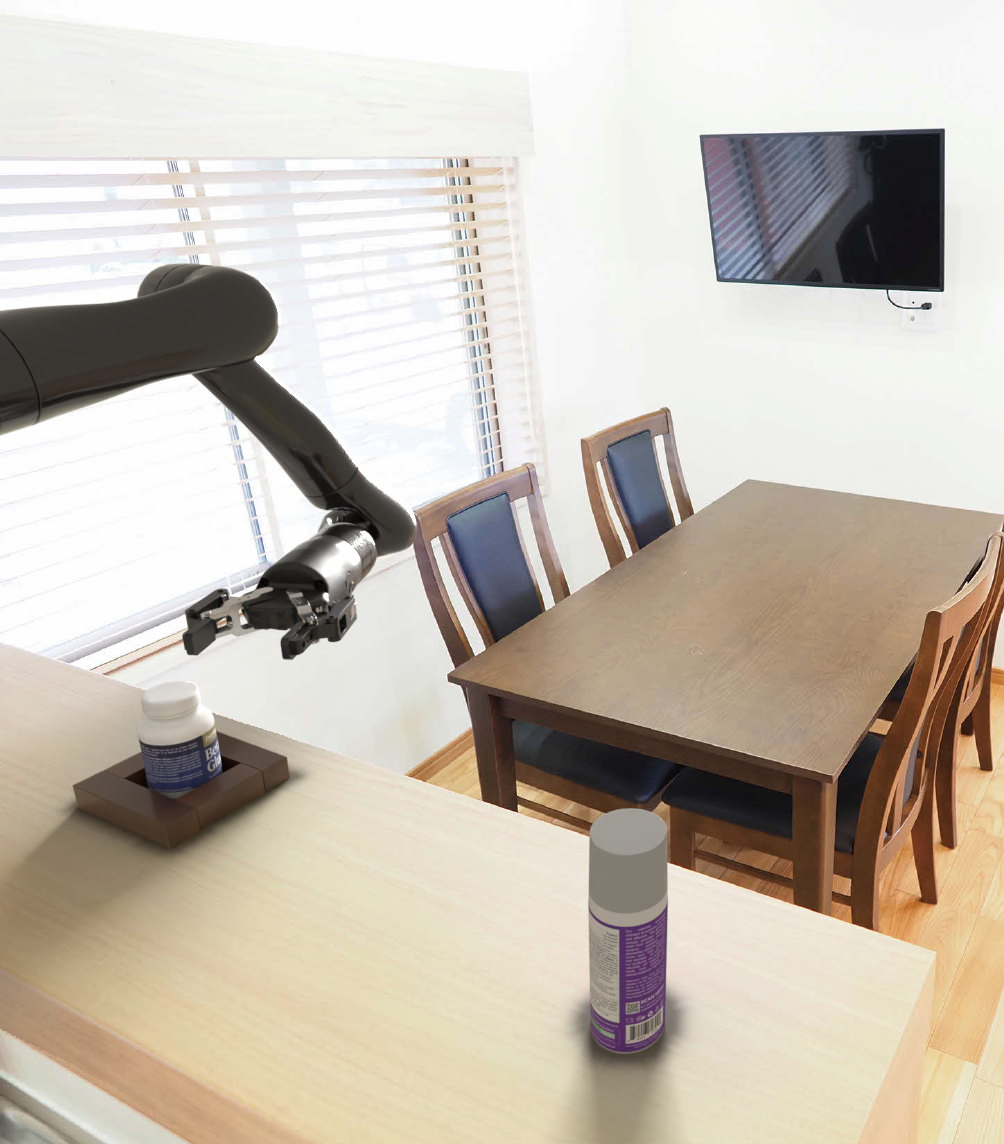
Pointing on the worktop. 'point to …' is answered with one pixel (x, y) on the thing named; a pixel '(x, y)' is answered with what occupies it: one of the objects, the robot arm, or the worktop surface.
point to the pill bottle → (177, 739)
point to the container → (627, 929)
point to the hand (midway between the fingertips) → (237, 648)
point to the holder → (174, 821)
